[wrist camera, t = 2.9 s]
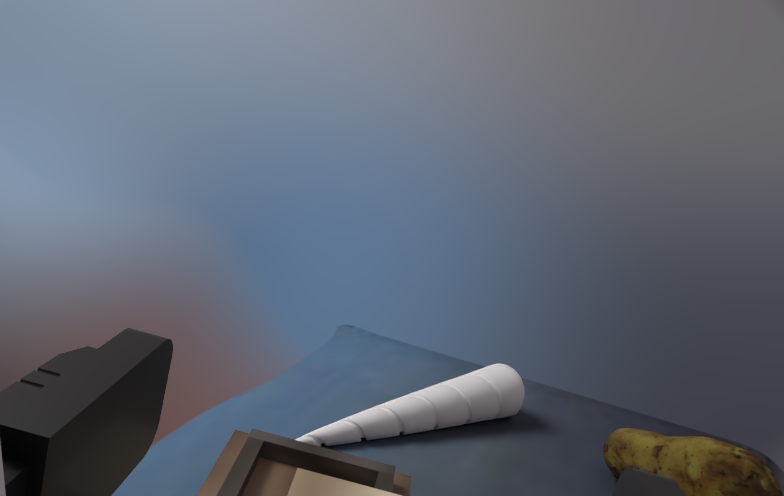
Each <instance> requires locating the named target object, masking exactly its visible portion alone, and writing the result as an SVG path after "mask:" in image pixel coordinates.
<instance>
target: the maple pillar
mask: <svg viewBox="0 0 784 496" xmlns="http://www.w3.org/2000/svg"><path fill="white" fill-rule="evenodd" d="M287 496H402V495H398V494H394V493H391V492H387V491H383V490H379V489H376V488H372V487H368V486H364V485H360V484H357V483H353V482H349V481H345V480H342V479H338V478H334V477H330V476H327V475H323V474H319V473H315V472H312V471H308V470H304V469H300V468H297V471H296V473H295V476H294V479H293V482H292V484H291V487H290V490H289V492H288V495H287Z"/></svg>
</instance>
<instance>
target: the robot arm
mask: <svg viewBox="0 0 784 496" xmlns="http://www.w3.org/2000/svg"><path fill="white" fill-rule="evenodd" d="M172 351H173V345H172V341H171V340H170V339H167V338H163V337H160V336H156V335H152V334H149V333H145V332H142V331H138V330H134V329H131V328H128V329H125V330H124V331H122V332H121V333H119V334H118V335H117V336H115V337H114V338H112V339H111V340H110V341H108V342H107V343H105V344H104V345H102V346H101V347H100V348H98V349H96V348H92V347H84V348H80V349H77V350H73V351H69V352H66V353H62V354H59V355H58V356H56V357H54V358H53V359H51V360H49V361H48V362H46V363H45V364H43V365H42V366H40V367H39V368H38V370H37V371H35V370H34V371H32V372H31V373H29V374H28V375H26V376H25V377H23V378H22V379H21V381H20V382H15V383H14V384H12V385H11V386H9V387H8V388H6V389H5V390H3V391H1V392H0V496H111V495H112V494H113V493H114V492H115V490H116V489H117V488H118V487H119V486H120V485H121V483H122V482H123V481H124V480H125V479H126V478H127V476H128V475H129V474H130V473H131V472H132V470H133V469H134V468H135V467H136V466H137V465H138V463H139V462H140V461H141V460H142V459H143V457H144V456H145V455H146V453H147V451H148V450H149V448H150V446H151V444H152V441H153V439H154V436H155V434H156V431H157V428H158V424H159V420H160V415H161V410H162V404H163V399H164V394H165V389H166V384H167V379H168V373H169V369H170V364H171V358H172ZM612 496H685V495H684V493H683V491H682V490H681V488H680V487H679V485H678V483H677V482H676V481H675V480H674V479H671V478H668V477H664V476H661V475H657V474H653V473H650V472H646V471H642V470H639V469H635V468H631V467H628V468H626V469H625V470H624V471H623V472H622V474H621V475H620V477H619V479H618V482H617V484H616V487H615V490H614V492H613V495H612Z"/></svg>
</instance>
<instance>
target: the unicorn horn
mask: <svg viewBox="0 0 784 496" xmlns="http://www.w3.org/2000/svg"><path fill="white" fill-rule="evenodd" d="M523 400H524V385H523V382H522V379H521V377H520V376H519V375H518V373H517V372H516V371H515V370H514V369H512V368H511V367H509V366H508V365H505V364H499V363H498V364H494V365H490V366H487V367H484V368H482V369H479V370H476V371H474V372H471V373H468V374H465V375H463V376H460V377H457V378H454V379H451V380H448V381H445V382H442V383H439V384H436V385H433V386H430V387H428V388H425V389H422V390H419V391H416V392H414V393H411V394H408V395H405V396H403V397H400V398H397V399H394V400H391V401H389V402H386V403H383V404H381V405H378V406H375V407H373V408H370V409H367V410H365V411H362V412H359V413H357V414H354V415H352V416H349V417H347V418H344V419H341V420H339V421H337V422H334V423H332V424H329V425H327V426H324V427H322V428H319V429H317V430H315V431H312V432H310V433H308V434H306V435H303V436H302V437H300V438H298V439H295V440H297V441H301V442H305V443H308V444H312V445H316V446H320V447H321V446H322V443H324V444H325V445H326V446H333V445H341V444H348V443H354V442H360V441H361V438H365V437H366V440H374V439H381V438H387V437H393V436H399V435H400V432H402V434H403V435H406V434H411V433H417V432H423V431H429V430H433V429H434V428H435V429H441V428H446V427H452V426H458V425H463V424H469V423H474V422H479V421H484V420H491V419H497V418H503V417H508V416H512V415H515V414H517V412H518V411H519V410H520V409H521V407H522V404H523Z"/></svg>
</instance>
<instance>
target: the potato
mask: <svg viewBox="0 0 784 496" xmlns="http://www.w3.org/2000/svg"><path fill="white" fill-rule="evenodd" d="M603 455H604V459H605V461H606V464H607V466H608V468H609V469H610V471H611V472H612V473H613V475H614V476H615V477H616V478H617V479H619V477H620V475H621V474H622V472H623V471H624V470H625V469H626V468H628V467H631V468H635V469H639V470H642V471H646V472H650V473H653V474H657V475H661V476H664V477H668V478H671V479H674V480H675V481H676V482H677V483H678V485H679V487H680V488H681V490H682V491H683V493H684V495H685V496H783V495H782V492H781V489H780V486H779V483H778V481H777V479H776V477H775V476H774V475H773V473H772V472H771V471H770V470H769V469H768V467H767V466H766V465H765V463H764V462H763V461H762V460H761V459H760V458H758V457H757V456H756V455H754V454H753V453H751V452H749V451H747V450H745V449H743V448H739V447H736V446H734V445H732V444H730V443H727V442H724V441H721V440H718V439H713V438H708V437H701V436H691V437H666V436H665V435H662V434H659V433H655V432H650V431H646V430H640V429H633V428H622V429H618V430H615V431H614V432H612V433H611V435H610V436H609V437H608V438H607V441H606V443H605V445H604V449H603Z"/></svg>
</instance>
